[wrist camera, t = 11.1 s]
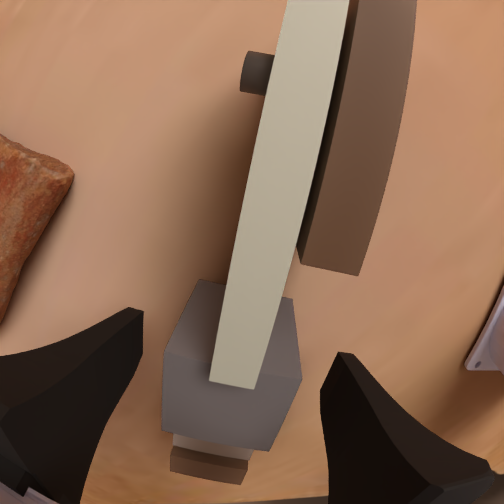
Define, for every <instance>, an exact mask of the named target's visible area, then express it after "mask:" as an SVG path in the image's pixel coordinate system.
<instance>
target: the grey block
mask: <svg viewBox="0 0 504 504" xmlns="http://www.w3.org/2000/svg"><path fill="white" fill-rule="evenodd" d="M225 290H226V285H223V284H218V283H214V282H209V281H205V280H200V279H199V280H198V282H197V285H196V287H195V289H194V291H193V293H192V295H191V297H190V299H189V301H188V303H187V305H186V307H185V309H184V311H183V313H182V315H181V317H180V319H179V321H178V323H177V325H176V327H175V329H174V332H173V334H172V336H171V338H170V340H169V342H168V344H167V346H166V348H165V350H164V361H163V384H162V431H166V432H170V433H173V434H177V435H181V436H185V437H190V438H194V439H198V440H203V441H208V442H212V443H218V444H223V445H228V446H234V447H240V448H246V449H253V450H261V451H270V449H271V446H272V444H273V442H274V440H275V438H276V436H277V434H278V432H279V430H280V428H281V426H282V424H283V421H284V419H285V417H286V415H287V413H288V411H289V408H290V406H291V404H292V402H293V399H294V397H295V395H296V393H297V390H298V388H299V386H300V383H301V381H302V373H301V364H300V356H299V347H298V339H297V331H296V323H295V315H294V308H293V300H292V299H291V298H286V297H281V301H280V305H279V308H278V312H277V315H276V318H275V322H274V325H273V329H272V332H271V336H270V339H269V342H268V346H267V349H266V352H265V356H264V359H263V362H262V365H261V369H260V372H259V375H258V378H257V382H256V385H255V388H254V390H253V389H248V388H242V387H237V386H232V385H227V384H222V383H217V382H212V381H209V377H210V371H211V366H212V360H213V355H214V349H215V344H216V338H217V333H218V327H219V322H220V317H221V311H222V306H223V301H224V296H225Z"/></svg>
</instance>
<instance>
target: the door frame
mask: <svg viewBox="0 0 504 504" xmlns="http://www.w3.org/2000/svg"><path fill="white" fill-rule="evenodd" d="M416 6H417V0H349V5H348V11H347V17H346V23H345V28H344V34H343V39H342V44H341V50H340V55H339V60H338V65H337V70H336V75H335V80H334V85H333V90H332V95H331V99H330V104H329V109H328V113H327V118H326V123H325V127H324V132H323V136H322V140H321V145H320V149H319V154H318V158H317V162H316V166H315V171H314V175H313V179H312V183H311V187H310V191H309V195H308V199H307V203H306V207H305V211H304V215H303V219H302V223H301V227H300V231H299V235H298V239H297V242H296V247H297V251H298V255H299V259H300V263H301V264H302V265H307V266H312V267H316V268H321V269H326V270H331V271H335V272H340V273H345V274H349V275H354V276H358V275H359V273H360V270H361V267H362V264H363V261H364V258H365V255H366V252H367V249H368V245H369V242H370V239H371V236H372V233H373V229H374V226H375V223H376V219H377V216H378V213H379V209H380V206H381V202H382V198H383V195H384V191H385V187H386V183H387V180H388V176H389V172H390V168H391V164H392V159H393V155H394V151H395V146H396V142H397V137H398V133H399V128H400V123H401V118H402V113H403V107H404V102H405V96H406V90H407V84H408V78H409V71H410V64H411V57H412V49H413V40H414V30H415V19H416ZM252 453H253V449H246V448H240V447H234V446H228V445H223V444H218V443H212V442H208V441H203V440H198V439H194V438H190V437H185V436H181V435H177V434H173V448H172V451H171V455H170V471H172V472H176V473H180V474H184V475H189V476H193V477H198V478H203V479H208V480H213V481H218V482H224V483H230V484H237V485H241V483H242V481H243V479H244V477H245V475H246V472H247V470H248V460H250V457H251V455H252Z"/></svg>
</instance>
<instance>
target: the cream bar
mask: <svg viewBox="0 0 504 504" xmlns="http://www.w3.org/2000/svg"><path fill="white" fill-rule="evenodd" d="M348 5H349V0H288V2H287V6H286V11H285V15H284V19H283V23H282V27H281V32H280V36H279V40H278V44H277V49H276V53H275V55H270V54H265V53H259V52H253V51H248V52H247V54H246V57H245V60H244V64H243V68H242V74H241V80H240V91H241V92H247V93H253V94H258V95H263V96H266V97H265V102H264V106H263V111H262V115H261V120H260V124H259V129H258V134H257V138H256V143H255V147H254V152H253V157H252V162H251V166H250V171H249V176H248V181H247V185H246V190H245V195H244V200H243V205H242V210H241V215H240V219H239V224H238V229H237V234H236V239H235V244H234V249H233V254H232V260H231V265H230V270H229V275H228V280H227V285H226V290H225V296H224V301H223V306H222V311H221V317H220V322H219V327H218V333H217V338H216V344H215V349H214V355H213V360H212V366H211V371H210V377H209V381H212V382H217V383H222V384H227V385H232V386H237V387H242V388H248V389H253V390H254V388H255V385H256V382H257V378H258V375H259V372H260V369H261V365H262V362H263V359H264V356H265V352H266V349H267V346H268V342H269V339H270V336H271V332H272V329H273V325H274V322H275V318H276V315H277V312H278V308H279V305H280V301H281V297H282V294H283V290H284V287H285V283H286V280H287V276H288V272H289V269H290V265H291V261H292V257H293V254H294V250H295V246H296V242H297V239H298V235H299V231H300V227H301V223H302V219H303V215H304V211H305V207H306V203H307V199H308V195H309V191H310V187H311V183H312V179H313V175H314V171H315V166H316V162H317V158H318V154H319V149H320V145H321V140H322V136H323V132H324V127H325V123H326V118H327V113H328V109H329V104H330V99H331V95H332V90H333V85H334V80H335V75H336V70H337V65H338V60H339V55H340V50H341V44H342V39H343V34H344V28H345V23H346V17H347V11H348Z"/></svg>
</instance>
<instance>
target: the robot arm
mask: <svg viewBox="0 0 504 504" xmlns="http://www.w3.org/2000/svg"><path fill="white" fill-rule="evenodd" d="M143 313H144V311H141V310H137V309H134V308H130V307H128V308H126V309H124V310H122V311H120V312H118V313H116V314H114V315H112V316H111V317H109V318H107V319H105V320H103V321H101V322H99V323H98V324H96V325H94V326H92V327H90V328H88V329H86V330H84V331H81V332H79V333H77V334H75V335H73V336H71V337H69V338H66V339H64V340H61V341H59V342H56V343H53V344H50V345H47V346H44V347H41V348H38V349H34V350H30V351H25V352H21V353H17V354H11V355H5V356H0V504H80V500H81V496H82V492H83V488H84V484H85V481H86V478H87V474H88V471H89V468H90V465H91V462H92V459H93V456H94V453H95V451H96V448H97V445H98V443H99V440H100V438H101V435H102V433H103V430H104V428H105V425H106V423H107V421H108V419H109V417H110V416H111V414H112V412H113V410H114V409H115V407H116V405H117V404H118V402H119V400H120V398H121V397H122V395H123V393H124V392H125V390H126V388H127V386H128V385H129V383H130V381H131V379H132V378H133V376H134V374H135V371H136V369H137V367H138V364H139V362H140V359H141V357H142V354H143ZM464 366H465V367H466V369H467V370H500V371H501V372H502V374H503V375H504V286H503V288H502V290H501V293H500V295H499V297H498V300H497V302H496V304H495V306H494V308H493V310H492V313H491V315H490V317H489V319H488V321H487V323H486V325H485V327H484V329H483V331H482V333H481V334H480V336H479V338H478V340H477V342H476V344H475V345H474V347H473V349H472V351H471V353H470V354H469V356H468V358H467V359H466V361H465V365H464ZM320 414H321V421H322V427H323V434H324V440H325V446H326V453H327V459H328V470H329V497H328V504H471V503H472V502H474V501H475V500H476V499H477V498H479V497H480V496H481V495H482V494H483V493H485V492H486V491H487V490H488V489H489V488H490V486H491V485H492V484H493V481H494V479H495V478H494V475H493V473H492V470H491V468H490V466H489V463H488V462H487V460H485V459H482V458H480V457H477V456H475V455H472V454H470V453H468V452H465V451H463V450H461V449H459V448H457V447H456V446H454V445H452V444H450V443H448V442H447V441H445V440H443V439H442V438H440V437H439V436H437V435H436V434H434V433H433V432H431V431H430V430H428V429H427V428H426V427H424V426H423V425H422V424H420V423H419V422H418V421H417V420H416V419H414V418H413V417H412V416H411V415H410V414H408V413H407V412H406V411H405V410H404V409H403V408H402V407H401V406H400V405H399V404H398V403H397V402H396V401H395V400H394V399H393V398H392V397H391V396H390V395H389V394H388V393H387V392H386V391H385V390H384V388H383V387H382V386H381V385H380V384H379V383H378V382H377V381H376V379H375V378H374V377H373V376H372V375H371V374H370V372H369V371H368V370H367V369H366V368H365V367H364V365H363V364H362V363H361V362H360V361H359V360H358V359H357V358H356V356H355V355H354V354H351V353H344V352H338V353H337V355H336V357H335V359H334V362H333V364H332V366H331V368H330V370H329V373H328V375H327V377H326V379H325V381H324V383H323V385H322V387H321V389H320Z"/></svg>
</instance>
